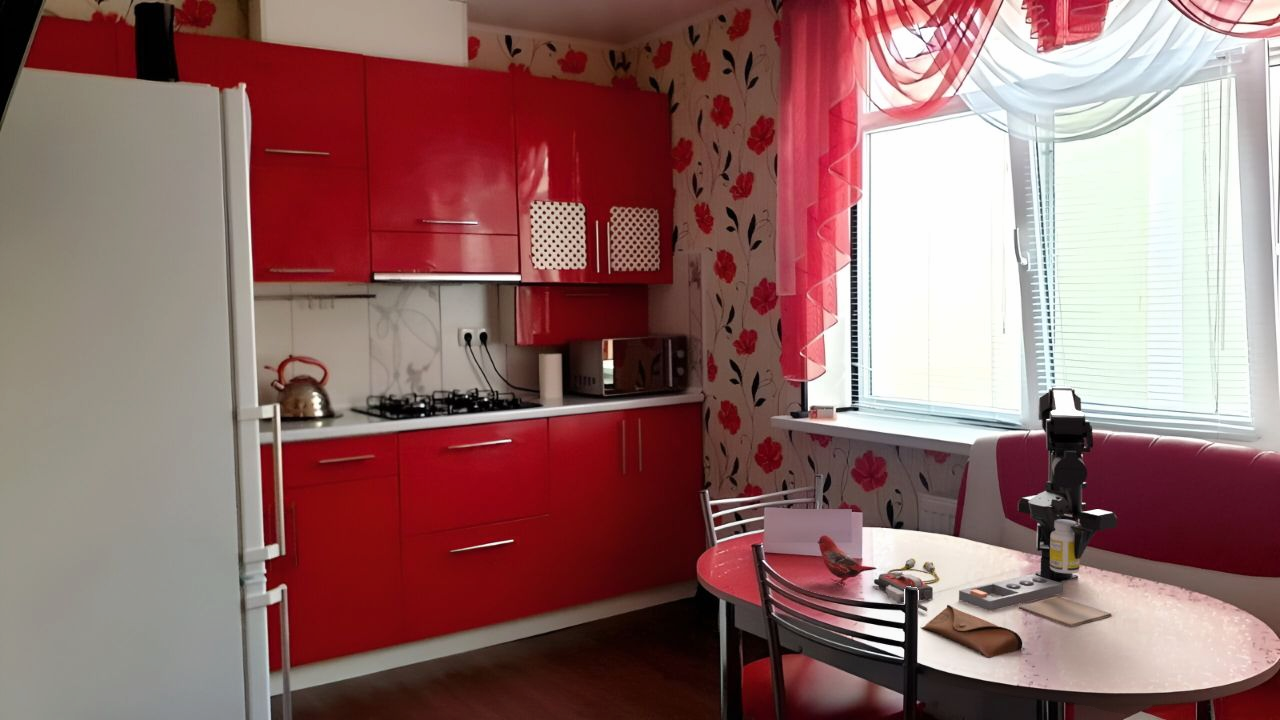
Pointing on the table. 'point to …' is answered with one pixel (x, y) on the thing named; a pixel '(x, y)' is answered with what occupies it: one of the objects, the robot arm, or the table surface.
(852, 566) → the decorative bird figurine
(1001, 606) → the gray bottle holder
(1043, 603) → the walnut pad
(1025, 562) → the table surface
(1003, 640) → the sunglasses case
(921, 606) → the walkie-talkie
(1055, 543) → the supplement bottle
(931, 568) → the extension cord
